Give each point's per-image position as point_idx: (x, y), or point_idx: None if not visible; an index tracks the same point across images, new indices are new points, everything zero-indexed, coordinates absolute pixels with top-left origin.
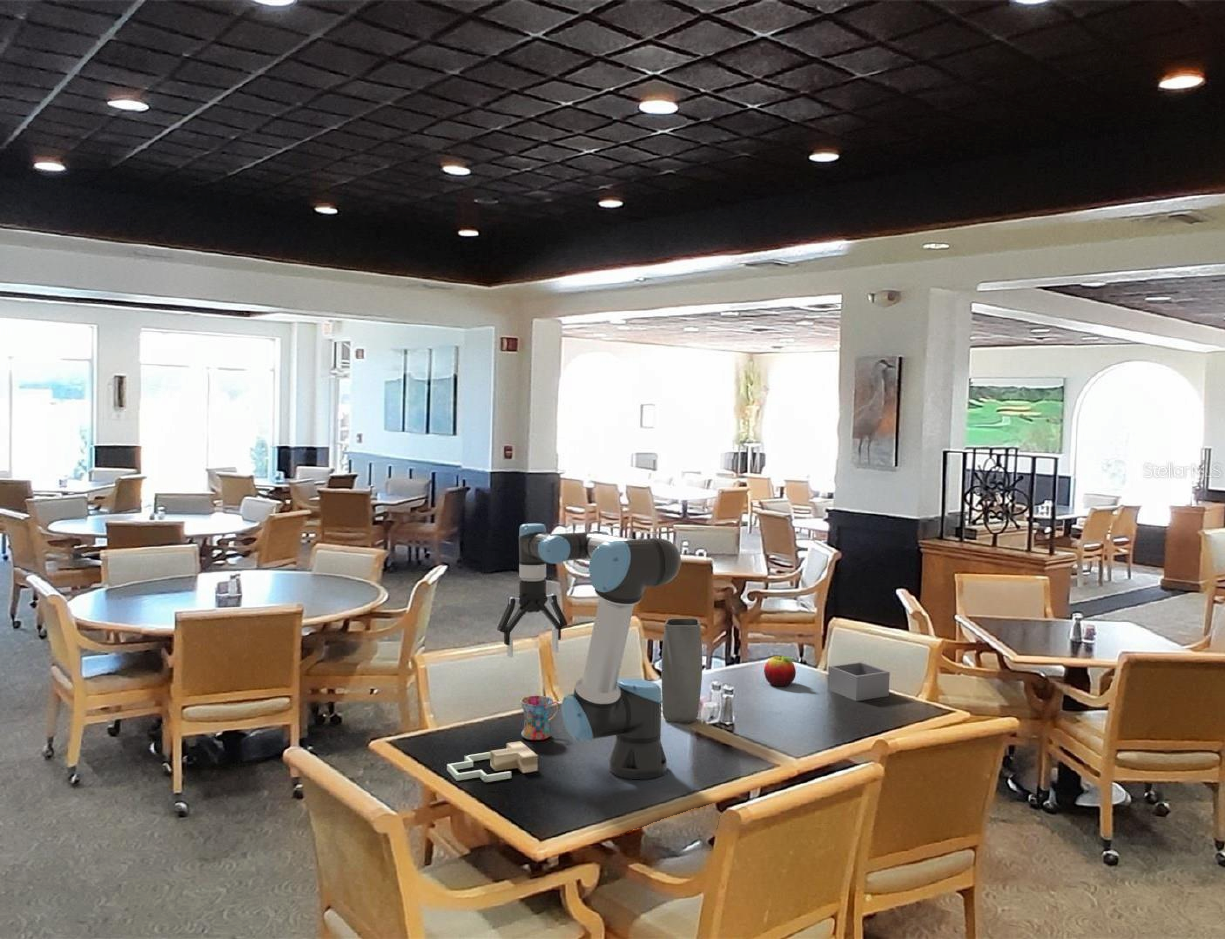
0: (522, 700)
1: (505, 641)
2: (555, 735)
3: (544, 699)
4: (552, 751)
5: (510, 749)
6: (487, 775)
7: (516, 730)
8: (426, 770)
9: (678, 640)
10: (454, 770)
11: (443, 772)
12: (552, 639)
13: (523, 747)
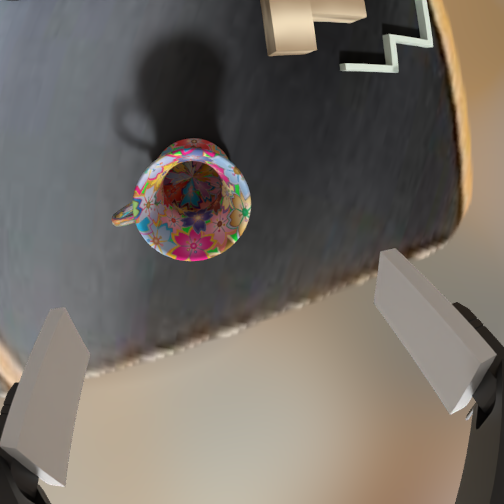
0: (238, 227)
1: (475, 320)
2: None
3: (157, 237)
4: (178, 62)
5: (318, 4)
6: None
7: None
8: (452, 66)
9: None
10: (426, 11)
11: None
12: (72, 408)
13: (281, 5)
